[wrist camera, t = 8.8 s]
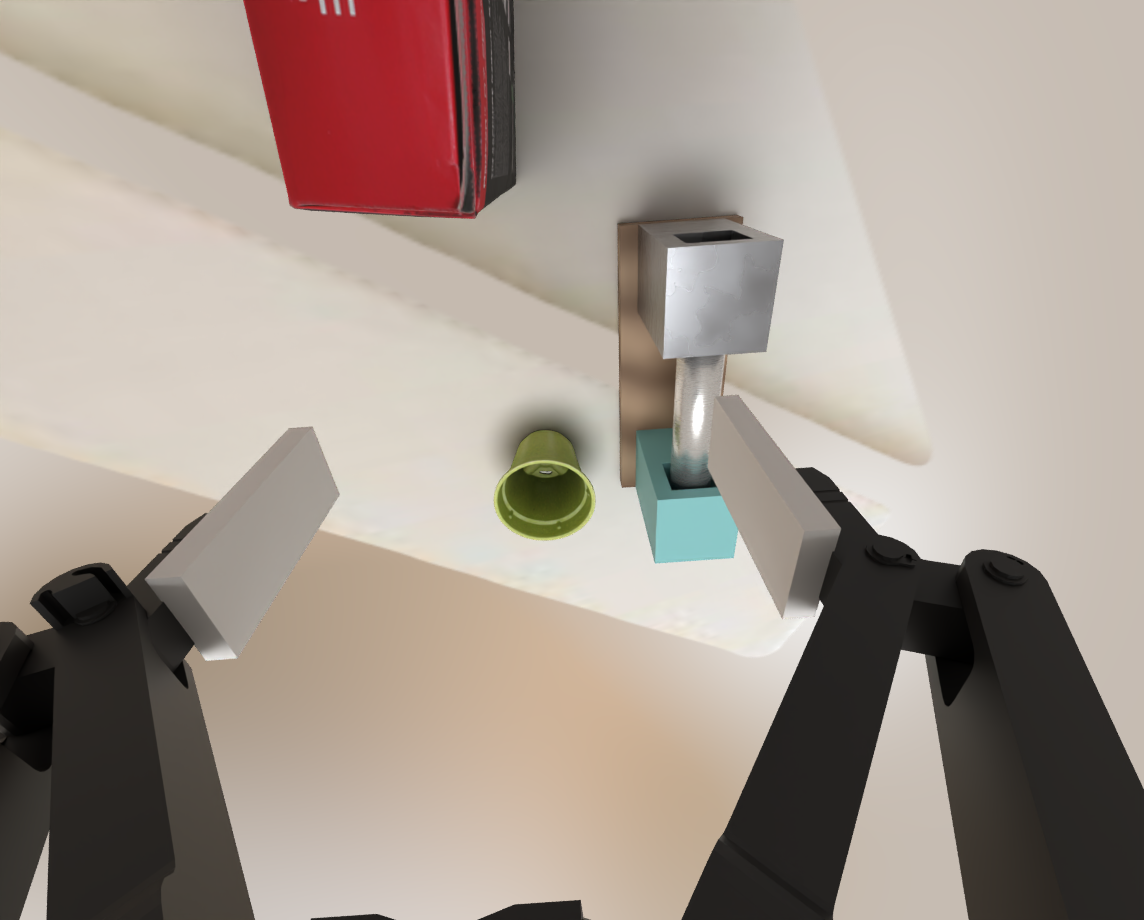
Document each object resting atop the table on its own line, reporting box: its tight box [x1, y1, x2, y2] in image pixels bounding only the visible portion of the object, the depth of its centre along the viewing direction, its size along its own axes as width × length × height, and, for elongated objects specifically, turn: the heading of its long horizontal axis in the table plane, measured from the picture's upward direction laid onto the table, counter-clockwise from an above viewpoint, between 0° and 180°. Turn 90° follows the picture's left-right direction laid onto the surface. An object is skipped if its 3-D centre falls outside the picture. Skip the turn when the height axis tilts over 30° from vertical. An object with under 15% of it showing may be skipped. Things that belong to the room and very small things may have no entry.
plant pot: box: [494, 430, 595, 540], centre depth 49 cm, size 9×9×9 cm
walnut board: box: [618, 215, 743, 488], centre depth 47 cm, size 26×10×2 cm, turn 4°
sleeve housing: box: [637, 218, 784, 359], centre depth 36 cm, size 7×7×12 cm
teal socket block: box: [636, 428, 738, 563], centre depth 46 cm, size 7×7×12 cm
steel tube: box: [670, 355, 725, 490], centre depth 39 cm, size 17×4×4 cm, turn 4°
